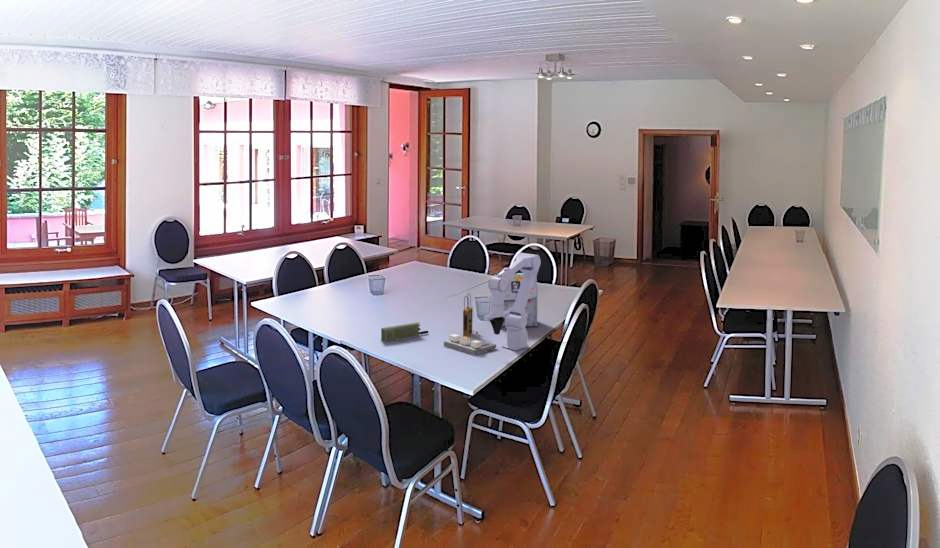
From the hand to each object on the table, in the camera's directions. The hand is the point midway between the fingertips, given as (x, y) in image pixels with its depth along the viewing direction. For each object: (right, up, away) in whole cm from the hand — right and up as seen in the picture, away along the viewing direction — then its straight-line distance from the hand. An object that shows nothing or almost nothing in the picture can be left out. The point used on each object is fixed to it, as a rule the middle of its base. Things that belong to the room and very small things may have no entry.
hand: (496, 333), depth 333 cm
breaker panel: (-12, -7, +12) cm, 19 cm away
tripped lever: (-14, -5, +10) cm, 18 cm away
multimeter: (-9, -4, +32) cm, 34 cm away
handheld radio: (-43, -4, +28) cm, 51 cm away
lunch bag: (+11, 0, +54) cm, 55 cm away
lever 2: (-9, -6, +5) cm, 12 cm away
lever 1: (-19, -4, +15) cm, 24 cm away
